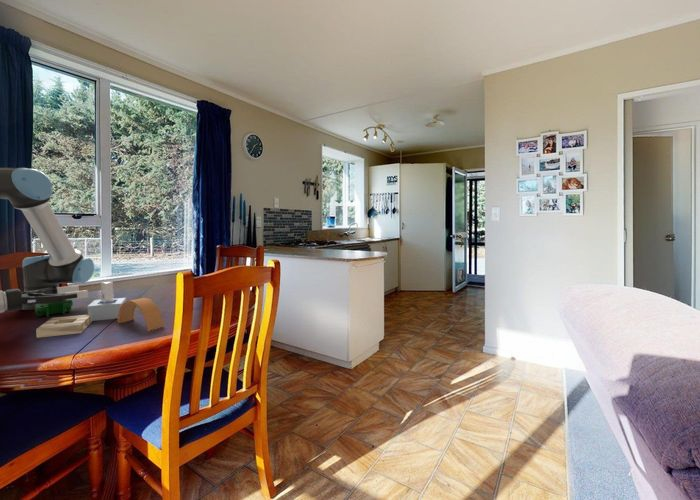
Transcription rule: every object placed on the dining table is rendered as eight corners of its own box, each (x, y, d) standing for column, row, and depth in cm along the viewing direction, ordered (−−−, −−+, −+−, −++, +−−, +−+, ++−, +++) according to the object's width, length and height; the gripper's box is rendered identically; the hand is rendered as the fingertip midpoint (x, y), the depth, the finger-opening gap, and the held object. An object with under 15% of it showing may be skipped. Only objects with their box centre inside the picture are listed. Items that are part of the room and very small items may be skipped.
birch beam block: (52, 325, 125) (51, 317, 124) (91, 321, 130) (91, 314, 130) (36, 337, 112) (36, 329, 112) (81, 333, 117) (80, 324, 117)
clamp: (44, 327, 136) (32, 310, 131) (42, 321, 139) (29, 304, 135) (78, 311, 143) (68, 295, 138) (75, 305, 147) (64, 289, 142)
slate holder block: (95, 314, 140) (94, 300, 140) (126, 311, 145) (125, 297, 145) (88, 321, 130) (87, 306, 130) (121, 318, 135) (121, 303, 135)
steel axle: (103, 315, 139) (101, 282, 137) (115, 314, 140) (113, 281, 139) (101, 317, 135) (99, 283, 134) (113, 316, 137) (111, 283, 136)
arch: (148, 332, 120) (146, 304, 119) (117, 323, 129) (116, 297, 128) (163, 327, 125) (162, 301, 124) (133, 319, 134) (132, 295, 133)
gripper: (2, 305, 122) (75, 295, 138) (10, 319, 106) (92, 306, 123) (0, 285, 121) (74, 277, 138) (8, 296, 106) (91, 286, 122)
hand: (83, 290), depth 130 cm, fingers open, 13 cm apart
